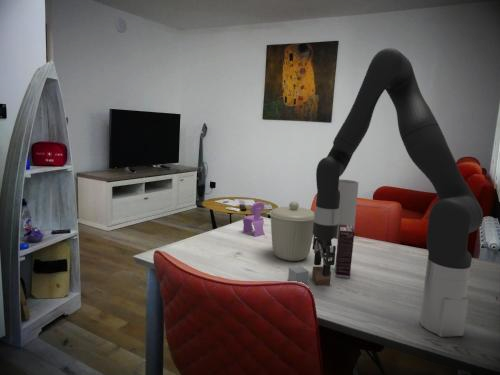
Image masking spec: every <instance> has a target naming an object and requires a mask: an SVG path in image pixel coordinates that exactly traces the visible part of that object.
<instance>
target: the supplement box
mask: <svg viewBox="0 0 500 375" xmlns="http://www.w3.org/2000/svg"><path fill="white" fill-rule="evenodd" d="M354 240H355V228H354V229H353V226H351V225H341V224H340V225H339V232H338V238H337V242H336V243H337V245H336V252H335V264H334V272H335V274H334V275H335V277H336V278H344V279H350V278H351V269H352V260H353V250H354Z"/></svg>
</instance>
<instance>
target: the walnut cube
mask: <svg viewBox="0 0 500 375" xmlns="http://www.w3.org/2000/svg"><path fill="white" fill-rule="evenodd" d="M322 271H323V265H314V266H312V272H311V274H312V275H311V280H312V282H313V283H314V285H315V286H318V287H321V286H331V279H332V271H331V270H330V276H323V275H322Z"/></svg>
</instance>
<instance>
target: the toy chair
mask: <svg viewBox="0 0 500 375" xmlns="http://www.w3.org/2000/svg"><path fill="white" fill-rule="evenodd" d="M264 209H265V203H264V202H262V201H258V202H254V203H252V204H251V205H250V206H249V212H250V213H251V214H252V215H247V216H243V219H242V224H243V228H242V233H247V232H246V231H249V232H252V231H251V230H254V233H253V238H257V237H262V236H265V235H266V234H265V231H264V217H261V214H262V211H264ZM261 235H262V236H261Z"/></svg>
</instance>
